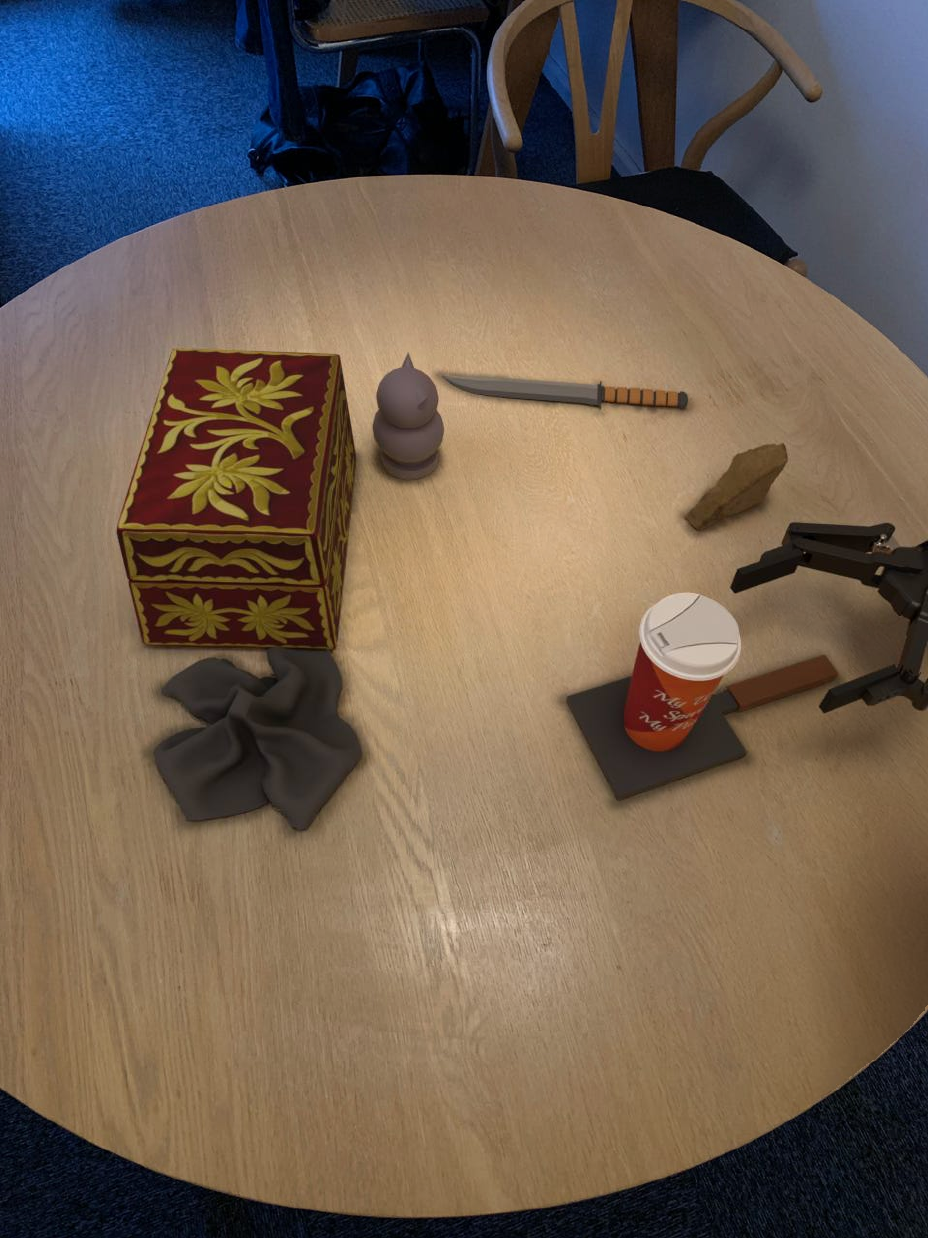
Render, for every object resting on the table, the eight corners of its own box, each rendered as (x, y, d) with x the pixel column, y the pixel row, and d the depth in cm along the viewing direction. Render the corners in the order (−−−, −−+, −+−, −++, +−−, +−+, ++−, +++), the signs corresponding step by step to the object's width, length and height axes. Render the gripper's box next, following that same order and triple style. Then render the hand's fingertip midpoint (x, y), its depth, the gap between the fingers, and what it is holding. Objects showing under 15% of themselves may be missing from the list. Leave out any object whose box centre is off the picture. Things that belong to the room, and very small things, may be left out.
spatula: (860, 716, 88) (865, 709, 88) (617, 801, 82) (620, 794, 81) (796, 628, 94) (800, 620, 94) (565, 700, 88) (567, 693, 87)
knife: (438, 392, 113) (442, 365, 116) (438, 400, 114) (442, 372, 117) (689, 411, 112) (688, 383, 114) (687, 419, 113) (685, 391, 116)
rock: (699, 538, 98) (793, 523, 98) (693, 457, 96) (789, 442, 96) (673, 519, 109) (758, 506, 108) (667, 445, 106) (754, 432, 106)
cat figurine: (365, 441, 108) (360, 355, 99) (430, 428, 110) (432, 343, 100) (385, 492, 103) (382, 407, 94) (452, 478, 105) (456, 394, 96)
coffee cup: (639, 776, 83) (677, 684, 71) (594, 703, 87) (623, 604, 75) (718, 744, 85) (768, 650, 73) (670, 674, 89) (710, 574, 77)
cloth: (362, 829, 80) (358, 797, 75) (139, 840, 78) (120, 807, 73) (361, 620, 93) (358, 581, 88) (171, 626, 91) (157, 586, 87)
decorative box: (337, 651, 90) (325, 545, 78) (142, 646, 89) (100, 539, 77) (357, 456, 107) (350, 345, 95) (193, 451, 106) (165, 338, 94)
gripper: (1053, 696, 81) (852, 780, 76) (874, 502, 95) (694, 563, 90) (1101, 647, 75) (887, 735, 70) (903, 448, 89) (711, 509, 84)
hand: (778, 638), depth 80 cm, fingers open, 13 cm apart
